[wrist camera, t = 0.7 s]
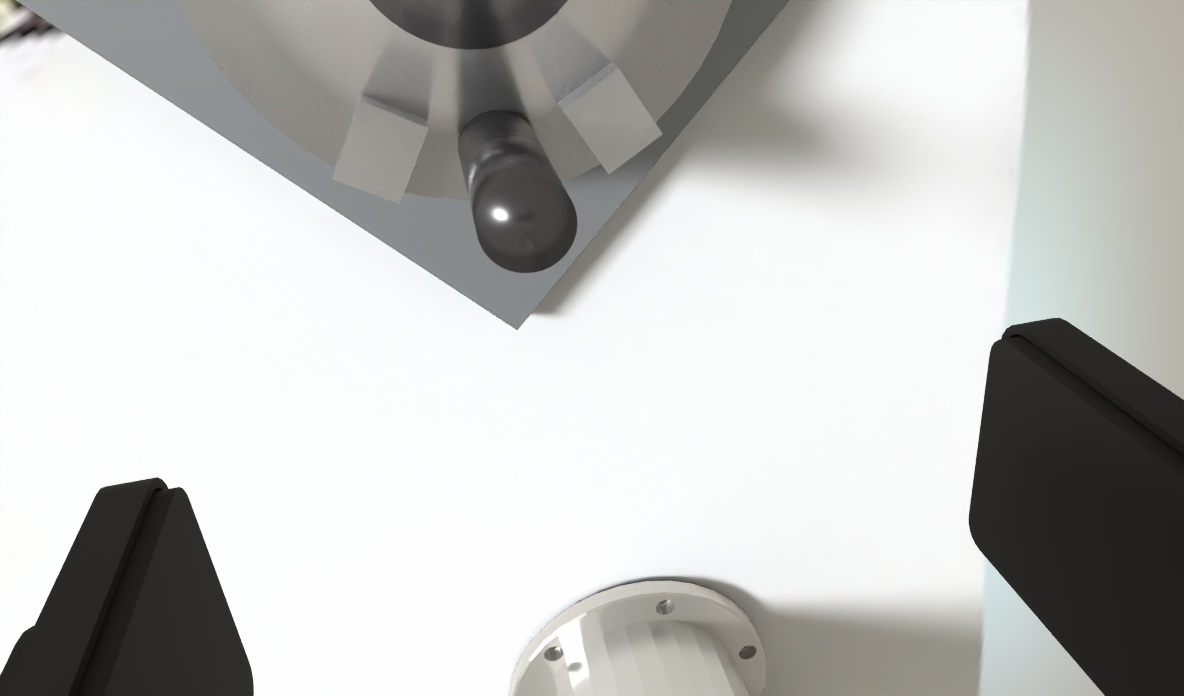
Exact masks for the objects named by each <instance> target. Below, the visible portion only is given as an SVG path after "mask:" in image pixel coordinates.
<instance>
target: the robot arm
mask: <svg viewBox="0 0 1184 696" xmlns="http://www.w3.org/2000/svg"><path fill="white" fill-rule="evenodd" d="M969 527H970V532H971V535H972V538H973V540H974V542H975V544H976V545H977V547H978V548H979V550H980V551H981V552H982V553H983V554H984V556H985V557H986V558H987V559H988V560H989V561H990V562H991V564H992V565H993V566H994V567H995V568H996V569H997V570H998V572H999V573H1000V574H1001V575H1002V576H1003V577H1004V579H1005V580H1006V581H1007V582H1008V583H1009V585H1010V586H1011V587H1012V588H1013V589H1014V590H1015V591H1016V593H1017V594H1018V595H1019V596H1020V597H1021V598H1022V600H1023V601H1024V602H1025V603H1026V604H1027V605H1028V607H1029V608H1030V609H1031V610H1032V611H1033V612H1034V614H1035V615H1036V616H1037V617H1038V618H1039V619H1040V621H1041V622H1042V623H1043V624H1044V625H1045V626H1046V628H1047V629H1048V630H1049V631H1050V632H1051V633H1052V635H1053V636H1054V637H1055V638H1056V639H1057V640H1058V642H1059V643H1060V644H1061V645H1062V646H1063V647H1064V649H1065V650H1066V651H1067V652H1068V653H1069V654H1070V656H1072V658H1073V659H1074V660H1075V661H1076V662H1077V664H1078V665H1079V666H1080V667H1081V668H1082V669H1083V671H1084V672H1085V673H1086V674H1087V675H1088V676H1089V678H1090V679H1091V680H1092V681H1093V682H1094V683H1095V684H1096V686H1097V687H1098V688H1099V689H1100V690H1101V692H1102V693H1103V694H1104V695H1105V696H1184V400H1183V399H1181V398H1180V397H1178V396H1177V395H1175V394H1174V393H1172V392H1171V391H1169V390H1168V389H1167V388H1165V387H1164V386H1162V385H1161V384H1159V383H1158V382H1156V381H1155V380H1153V379H1152V378H1150V377H1149V376H1147V375H1146V374H1144V373H1143V372H1141V371H1139V370H1138V369H1137V368H1135V367H1134V366H1132V365H1131V364H1129V363H1128V362H1126V361H1125V360H1124V359H1122V358H1121V357H1119V356H1117V355H1116V354H1115V353H1113V352H1111V351H1110V350H1109V349H1107V348H1106V347H1104V346H1103V345H1101V344H1100V343H1098V342H1097V341H1095V340H1094V339H1092V338H1091V337H1089V336H1088V335H1086V334H1085V333H1083V332H1082V331H1081V330H1079V329H1078V328H1076V327H1075V326H1073V325H1072V324H1070V323H1069V322H1067V321H1065V320H1063V319H1061V318H1052V319H1046V320H1040V321H1034V322H1029V323H1023V324H1018V325H1012V326H1010V327H1009V328H1007V329H1006V330H1005V332H1004V334H1003V335H1002V339H1001V340H998V341H996V342H995V343H994V344H993V346H992V348H991V352H990V357H989V365H988V372H987V380H986V388H985V396H984V403H983V411H982V419H981V427H980V434H979V442H978V450H977V457H976V465H975V473H974V481H973V488H972V496H971V504H970V511H969ZM766 667H767V665H766V659H765V653H764V648H763V646H762V643H761V641H760V639H759V636H758V634H757V632H756V630H755V628H754V626H753V625H752V623H751V621H750V620H749V618H748V617H747V615H746V614H745V613H744V612H743V611H742V610H741V609H740V608H739V607H738V606H737V605H736V604H735V603H734V602H733V601H731V600H730V599H728V598H726V597H724V596H723V595H721V594H719V593H717V592H716V591H714V590H711V589H708V588H705V587H701V586H698V585H695V584H691V583H684V582H676V581H644V582H638V583H633V584H627V585H622V586H618V587H615V588H612V589H609V590H606V591H603V592H600V593H597V594H594V595H592V596H590V597H588V598H586V599H584V600H582V601H580V602H578V603H576V604H574V605H572V606H570V607H569V608H568V609H566V610H565V611H563V612H562V613H561V614H559V615H558V616H556V617H555V618H554V619H552V620H551V621H550V622H549V623H548V624H547V625H546V626H545V627H544V628H543V629H542V630H541V631H540V632H539V633H538V634H537V635H535V636H534V637H533V639H532V640H531V642H530V643H529V645H528V646H527V647H526V649H525V650H524V652H523V653H522V655H521V656H520V658H519V661H518V663H517V665H516V668H515V670H514V672H513V675H512V680H511V685H510V691H509V696H761V694H762V691H763V688H764V685H765V678H766ZM253 695H254V692H253V677H252V671H251V667H250V664H249V661H248V658H247V655H246V653H245V650H244V647H243V645H242V642H241V639H240V636H239V634H238V631H237V628H236V625H235V623H234V620H233V617H232V615H231V612H230V609H229V606H228V604H227V601H226V598H225V596H224V593H223V590H222V587H221V585H220V582H219V579H218V577H217V574H216V571H215V568H214V566H213V563H212V560H211V558H210V555H209V552H208V549H207V547H206V544H205V541H204V539H203V536H202V533H201V530H200V528H199V525H198V522H197V520H196V517H195V514H194V511H193V509H192V506H191V503H190V501H189V498H188V496H187V494H186V492H185V491H184V490H183V488H180V487H178V488H172V489H168V487H167V485H166V484H165V483H164V481H163V480H162V479H160V478H152V479H146V480H140V481H135V482H129V483H124V484H118V485H112V486H107V487H103V488H101V489H100V490H99V491H98V493H97V494H96V496H95V498H94V500H93V502H92V505H91V507H90V509H89V511H88V513H87V515H86V517H85V520H84V522H83V524H82V526H81V528H80V530H79V532H78V534H77V537H76V539H75V541H74V543H73V545H72V547H71V549H70V552H69V554H68V556H67V558H66V560H65V562H64V564H63V566H62V569H61V571H60V573H59V575H58V577H57V579H56V581H55V584H54V586H53V588H52V590H51V592H50V594H49V596H48V598H47V601H46V603H45V605H44V607H43V609H42V611H41V613H40V616H39V618H38V620H37V622H36V624H35V626H32V627H31V628H29V629H28V630H26V631H25V632H23V634H22V635H21V637H20V638H19V640H18V641H17V643H16V644H15V646H14V648H13V650H12V652H11V655H10V657H9V659H8V661H7V663H6V665H5V667H4V669H3V671H2V673H1V675H0V696H253Z"/></svg>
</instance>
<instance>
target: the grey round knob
mask: <svg viewBox="0 0 1184 696" xmlns="http://www.w3.org/2000/svg"><path fill="white" fill-rule="evenodd" d="M179 1H180V3H181V5H182V7H183V9H184V11H185V14H186V16H187V18H188V20H189V22H190V24H191V26H192V28H193V29H194V31H195V33H196V34H197V36H198V37H199V39H200V40H201V42H202V44H203V45H204V47H205V48H206V50H207V51H208V53H209V55H210V56H211V58H212V59H213V61H214V63H215V64H216V65H217V66H218V68H219V69H220V70H221V71H222V73H223V74H224V75H225V76H226V77H227V79H228V80H229V81H230V82H231V84H232V85H233V86H234V87H235V89H236V90H237V91H238V92H239V93H240V95H241V96H242V97H243V98H244V99H245V100H246V101H247V102H248V103H249V104H250V105H251V106H252V107H253V108H254V109H255V110H257V111H258V112H259V113H260V114H261V115H262V116H263V117H264V118H265V119H266V120H267V121H268V122H269V123H270V124H271V125H272V126H274V127H275V128H276V129H278V130H279V131H280V132H281V133H283V134H284V135H285V136H287V137H288V138H289V139H291V140H292V141H293V142H294V143H296V144H297V145H298V146H300V147H301V148H303V149H304V150H306V151H308V152H309V153H311V154H313V155H314V156H316V157H318V158H319V159H321V160H323V161H324V162H326V163H328V164H330V165H331V166H333V167H335V169H334V174H333V180H336V181H338V182H341V183H344V184H347V185H349V186H352V187H355V188H358V189H360V190H363V191H366V192H368V193H371V194H374V195H377V196H379V197H382V198H385V199H387V200H390V201H393V202H396V203H398V204H400V202H401V199H402V197H403V194H404V193H408V194H414V195H420V196H426V197H431V198H439V199H460V200H469V202H470V206H471V211H472V215H473V219H474V224H475V228H476V232H477V237H478V240H479V243H480V246H481V247H482V249H483V251H484V252H485V254H486V255H487V256H488V257H489V258H490V260H491V261H493V262H494V263H495V264H497V265H498V266H500V267H502V268H504V269H506V270H509V271H512V272H517V273H534V272H538V271H542V270H545V269H547V268H549V267H551V266H553V265H554V264H556V263H557V262H558V261H560V260H561V259H562V258H563V257H564V256H565V255H566V254H567V252H568V251H569V249H570V248H571V246H572V244H573V242H574V239H575V236H576V232H577V214H576V210H575V207H574V205H573V202H572V200H571V199H570V197H569V195H568V193H567V191H566V189H565V188H564V186H563V184H562V182H564V181H567V180H570V179H572V178H574V177H576V176H578V175H580V174H582V173H584V172H586V171H588V170H590V169H592V168H594V167H596V166H598V165H600V164H602V166H603V167H604V169H605V170H606V171H607V173H608V174H610V173H612V172H613V171H614V170H616V169H617V168H618V167H620V166H621V165H622V164H624V163H625V162H626V161H628V160H629V159H630V158H632V157H633V156H634V155H636V154H637V153H638V152H640V151H641V150H642V149H644V148H645V147H646V146H648V145H649V144H650V143H652V142H653V141H654V140H656V139H657V138H658V137H660V136H661V135H662V132H661V131H660V129H659V128H658V126H657V125H656V122H657V121H658V119H659V118H660V117H661V116H662V115H663V114H664V113H665V112H666V111H667V110H668V109H669V108H670V106H671V105H672V104H673V103H674V102H675V101H676V100H677V99H678V98H679V96H680V95H681V94H682V92H683V91H684V89H685V88H686V87H687V85H688V84H689V82H690V81H691V80H692V78H693V77H694V75H695V74H696V73H697V71H698V70H699V69H700V67H701V65H702V63H703V61H704V59H705V58H706V56H707V54H708V52H709V50H710V49H711V47H712V45H713V43H714V41H715V40H716V38H717V36H718V33H719V31H720V29H721V26H722V24H723V21H724V19H725V16H726V14H727V12H728V9H729V7H730V4H731V2H732V0H179Z"/></svg>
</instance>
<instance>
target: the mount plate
mask: <svg viewBox="0 0 1184 696" xmlns="http://www.w3.org/2000/svg"><path fill="white" fill-rule="evenodd" d="M16 1H18V2H19V3H21V4H22V5H24V6H25V7H27V8H28V9H30V10H31V11H33V12H35V13H36V14H38V15H39V16H41V17H42V18H44V19H45V20H47V21H48V22H50V23H51V24H53V25H54V26H56V27H57V28H59V29H60V30H62V31H63V32H65V33H66V34H68V35H69V36H71V37H73V38H74V39H76V40H77V41H79V42H80V43H82V44H83V45H85V46H86V47H88V48H89V49H91V50H92V51H94V52H95V53H97V54H98V55H100V56H101V57H103V58H104V59H106V60H107V61H109V62H111V63H112V64H114V65H115V66H117V67H118V68H120V69H121V70H123V71H124V72H126V73H127V74H129V75H130V76H132V77H133V78H135V79H136V80H138V81H139V82H141V83H142V84H144V85H145V86H147V87H148V88H150V89H152V90H153V91H155V92H156V93H158V94H159V95H161V96H162V97H164V98H165V99H167V100H168V101H170V102H171V103H173V104H174V105H176V106H177V107H179V108H180V109H182V110H183V111H185V112H186V113H188V114H190V115H191V116H193V117H194V118H196V119H197V120H199V121H200V122H202V123H203V124H205V125H206V126H208V127H209V128H211V129H212V130H214V131H215V132H217V133H218V134H220V135H221V136H223V137H224V138H226V139H227V140H229V141H231V142H232V143H234V144H235V145H237V146H238V147H240V148H241V149H243V150H244V151H246V152H247V153H249V154H250V155H252V156H253V157H255V158H256V159H258V160H259V161H261V162H262V163H264V164H265V165H267V166H269V167H270V168H272V169H273V170H275V171H276V172H278V173H279V174H281V175H282V176H284V177H285V178H287V179H288V180H290V181H291V182H293V183H294V184H296V185H297V186H299V187H300V188H302V189H303V190H305V191H307V192H308V193H310V194H311V195H313V196H314V197H316V198H317V199H319V200H320V201H322V202H323V203H325V204H326V205H328V206H329V207H331V208H332V209H334V210H335V211H337V212H338V213H340V214H341V215H343V216H344V217H346V218H348V219H349V220H351V221H352V222H354V223H355V224H357V225H358V226H360V227H361V228H363V229H364V230H366V231H367V232H369V233H370V234H372V235H373V236H375V237H376V238H378V239H379V240H381V241H382V242H384V243H386V244H387V245H389V246H390V247H392V248H393V249H395V250H396V251H398V252H399V253H401V254H402V255H404V256H405V257H407V258H408V259H410V260H411V261H413V262H414V263H416V264H417V265H419V266H420V267H422V268H423V269H425V270H427V271H428V272H430V273H431V274H433V275H434V276H436V277H437V278H439V279H440V280H442V281H443V282H445V283H446V284H448V285H449V286H451V287H452V288H454V289H455V290H457V291H458V292H460V293H461V294H463V295H465V296H466V297H468V298H469V299H471V300H472V301H474V302H475V303H477V304H478V305H480V306H481V307H483V308H484V309H486V310H487V311H489V312H490V313H492V314H493V315H495V316H496V317H498V318H499V319H501V320H503V321H504V322H506V323H507V324H509V325H510V326H512V327H513V328H515V329H516V330H518V329H519V327H520V326H521V325H522V324H523V323H524V321H525V320H526V319H527V318H528V317H529V315H530V314H531V313H532V312H533V311H534V309H535V308H536V307H537V306H538V304H539V303H540V302H541V301H542V300H543V298H544V297H545V296H546V295H547V294H548V292H549V291H550V290H551V289H552V287H553V286H554V285H555V284H556V283H557V281H558V280H559V279H560V278H561V277H562V275H563V274H564V273H565V272H566V270H567V269H568V268H569V267H570V266H571V264H572V263H573V262H574V261H575V260H576V258H577V257H578V256H579V255H580V254H581V252H582V251H583V250H584V249H585V247H586V246H587V245H588V244H589V243H590V241H591V240H592V239H593V238H594V237H595V235H596V234H597V233H598V232H599V230H600V229H601V228H602V227H603V226H604V224H605V223H606V222H607V221H608V220H609V218H610V217H611V216H612V215H613V214H614V212H615V211H616V210H617V209H618V207H619V206H620V205H621V204H622V203H623V201H624V200H625V199H626V198H627V197H628V195H629V194H630V193H631V192H632V190H633V189H634V188H635V187H636V186H637V184H638V183H639V182H640V181H641V180H642V178H643V177H644V176H645V175H646V174H647V172H648V171H649V170H650V169H651V167H652V166H653V165H654V164H655V163H656V161H657V160H658V159H659V158H660V157H661V155H662V154H663V153H664V152H665V150H666V149H667V148H668V147H669V146H670V144H671V143H672V142H673V141H674V140H675V138H676V137H677V136H678V135H679V134H680V132H681V131H682V130H683V129H684V127H685V126H686V125H687V124H688V123H689V121H690V120H691V119H692V118H693V117H694V115H695V114H696V113H697V112H698V110H699V109H700V108H701V107H702V106H703V104H704V103H705V102H706V101H707V100H708V98H709V97H710V96H711V95H712V94H713V92H714V91H715V90H716V89H717V87H718V86H719V85H720V84H721V83H722V81H723V80H724V79H725V78H726V77H727V75H728V74H729V73H730V72H731V70H732V69H733V68H734V67H735V66H736V64H737V63H738V62H739V61H740V60H741V58H742V57H743V56H744V55H745V54H746V52H747V51H748V50H749V49H750V47H751V46H752V45H753V44H754V43H755V41H756V40H757V39H758V38H759V37H760V35H761V34H762V33H763V32H764V30H765V29H766V28H767V27H768V26H769V24H770V23H771V22H772V21H773V20H774V18H775V17H776V16H777V15H778V13H779V12H780V11H781V10H782V9H783V7H784V6H785V5H786V4H787V3H788V1H789V0H732V2H731V4H730V7H729V9H728V12H727V14H726V16H725V19H724V21H723V24H722V26H721V29H720V31H719V33H718V36H717V38H716V40H715V41H714V43H713V45H712V47H711V49H710V50H709V52H708V54H707V56H706V58H705V59H704V61H703V63H702V65H701V67H700V69H699V70H698V71H697V73H696V74H695V75H694V77H693V78H692V80H691V81H690V82H689V84H688V85H687V87H686V88H685V89H684V91H683V92H682V94H681V95H680V96H679V98H678V99H677V100H676V101H675V102H674V103H673V104H672V105H671V106H670V108H669V109H668V110H667V111H666V112H665V113H664V114H663V115H662V116H661V117H660V118H659V119H658V121H657V122H656V125H657V126H658V128H659V129H660V131H661V132H662V135H661V136H660V137H658V138H657V139H656V140H654V141H653V142H652V143H650V144H649V145H648V146H646V147H645V148H644V149H642V150H641V151H640V152H638V153H637V154H636V155H634V156H633V157H632V158H630V159H629V160H628V161H626V162H625V163H624V164H622V165H621V166H620V167H618V168H617V169H616V170H614V171H613V172H612V173H610V174H608V173H607V171H606V170H605V169H604V167H603V166H602V164H600V165H598V166H596V167H594V168H592V169H590V170H588V171H586V172H584V173H582V174H580V175H578V176H576V177H574V178H572V179H570V180H567V181H564V182H562V184H563V186H564V188H565V189H566V191H567V193H568V195H569V197H570V199H571V200H572V202H573V205H574V207H575V210H576V214H577V232H576V236H575V239H574V242H573V244H572V246H571V248H570V249H569V251H568V252H567V254H566V255H565V256H564V257H563V258H562V259H561V260H560V261H558V262H557V263H556V264H554V265H553V266H551V267H549V268H547V269H545V270H542V271H538V272H534V273H517V272H512V271H509V270H506V269H504V268H502V267H500V266H498V265H497V264H495V263H494V262H493V261H491V260H490V258H489V257H488V256H487V255H486V254H485V252H484V251H483V249H482V247H481V246H480V243H479V240H478V237H477V232H476V228H475V224H474V219H473V215H472V211H471V206H470V202H469V200H460V199H439V198H431V197H426V196H420V195H414V194H408V193H404V194H403V197H402V199H401V202H400V204H398V203H396V202H393V201H390V200H387V199H385V198H382V197H379V196H377V195H374V194H371V193H368V192H366V191H363V190H360V189H358V188H355V187H352V186H349V185H347V184H344V183H341V182H338V181H336V180H333V174H334V169H335V167H333V166H331V165H330V164H328V163H326V162H324V161H323V160H321V159H319V158H318V157H316V156H314V155H313V154H311V153H309V152H308V151H306V150H304V149H303V148H301V147H300V146H298V145H297V144H296V143H294V142H293V141H292V140H291V139H289V138H288V137H287V136H285V135H284V134H283V133H281V132H280V131H279V130H278V129H276V128H275V127H274V126H272V125H271V124H270V123H269V122H268V121H267V120H266V119H265V118H264V117H263V116H262V115H261V114H260V113H259V112H258V111H257V110H255V109H254V108H253V107H252V106H251V105H250V104H249V103H248V102H247V101H246V100H245V99H244V98H243V97H242V96H241V95H240V93H239V92H238V91H237V90H236V89H235V87H234V86H233V85H232V84H231V82H230V81H229V80H228V79H227V77H226V76H225V75H224V74H223V73H222V71H221V70H220V69H219V68H218V66H217V65H216V64H215V63H214V61H213V59H212V58H211V56H210V55H209V53H208V51H207V50H206V48H205V47H204V45H203V44H202V42H201V40H200V39H199V37H198V36H197V34H196V33H195V31H194V29H193V28H192V26H191V24H190V22H189V20H188V18H187V16H186V14H185V11H184V9H183V7H182V5H181V3H180V1H179V0H16Z"/></svg>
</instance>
